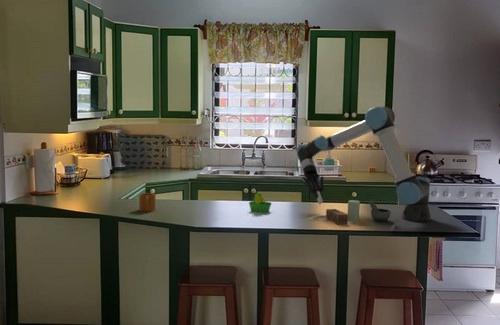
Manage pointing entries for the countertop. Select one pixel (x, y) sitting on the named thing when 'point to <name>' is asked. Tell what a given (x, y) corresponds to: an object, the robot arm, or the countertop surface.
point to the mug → (147, 202)
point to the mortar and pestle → (379, 213)
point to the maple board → (323, 218)
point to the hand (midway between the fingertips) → (320, 202)
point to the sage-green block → (353, 210)
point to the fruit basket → (259, 204)
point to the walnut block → (336, 216)
